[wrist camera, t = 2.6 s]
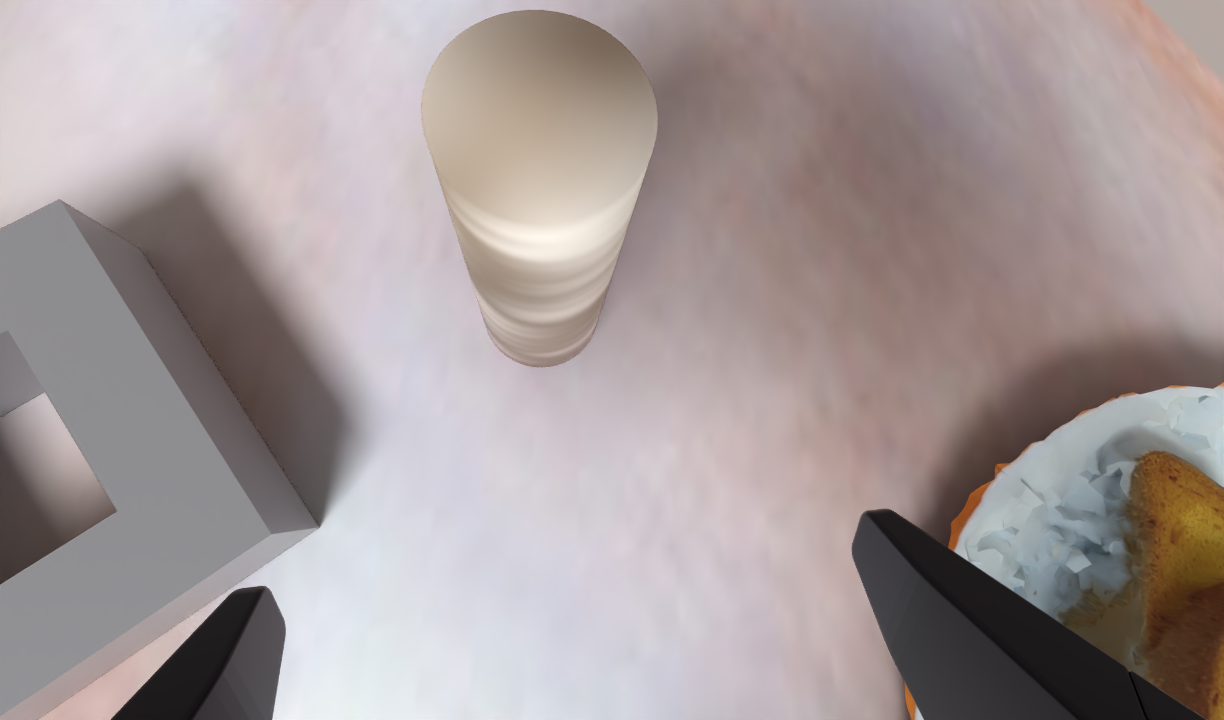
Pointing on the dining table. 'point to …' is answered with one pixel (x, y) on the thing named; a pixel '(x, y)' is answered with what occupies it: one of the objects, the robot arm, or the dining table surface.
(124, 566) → the socket
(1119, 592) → the food on plate
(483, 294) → the peg
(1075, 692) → the robot arm
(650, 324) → the dining table surface
